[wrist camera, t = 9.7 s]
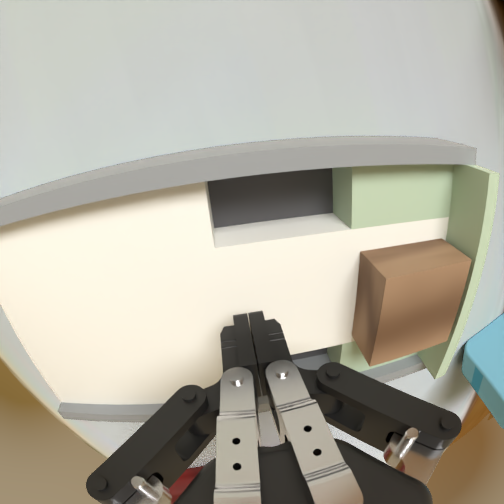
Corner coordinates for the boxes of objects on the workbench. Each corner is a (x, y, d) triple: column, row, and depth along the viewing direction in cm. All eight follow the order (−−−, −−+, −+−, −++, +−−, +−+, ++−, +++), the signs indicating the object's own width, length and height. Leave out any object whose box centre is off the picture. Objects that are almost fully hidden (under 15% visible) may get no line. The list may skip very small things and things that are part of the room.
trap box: (-8, 201, 14) (-63, 236, 9) (435, 138, 16) (500, 155, 11) (75, 384, 22) (58, 437, 16) (407, 337, 24) (440, 383, 19)
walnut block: (360, 251, 16) (386, 278, 13) (441, 238, 16) (471, 259, 14) (351, 334, 18) (369, 366, 16) (425, 315, 19) (447, 340, 16)
